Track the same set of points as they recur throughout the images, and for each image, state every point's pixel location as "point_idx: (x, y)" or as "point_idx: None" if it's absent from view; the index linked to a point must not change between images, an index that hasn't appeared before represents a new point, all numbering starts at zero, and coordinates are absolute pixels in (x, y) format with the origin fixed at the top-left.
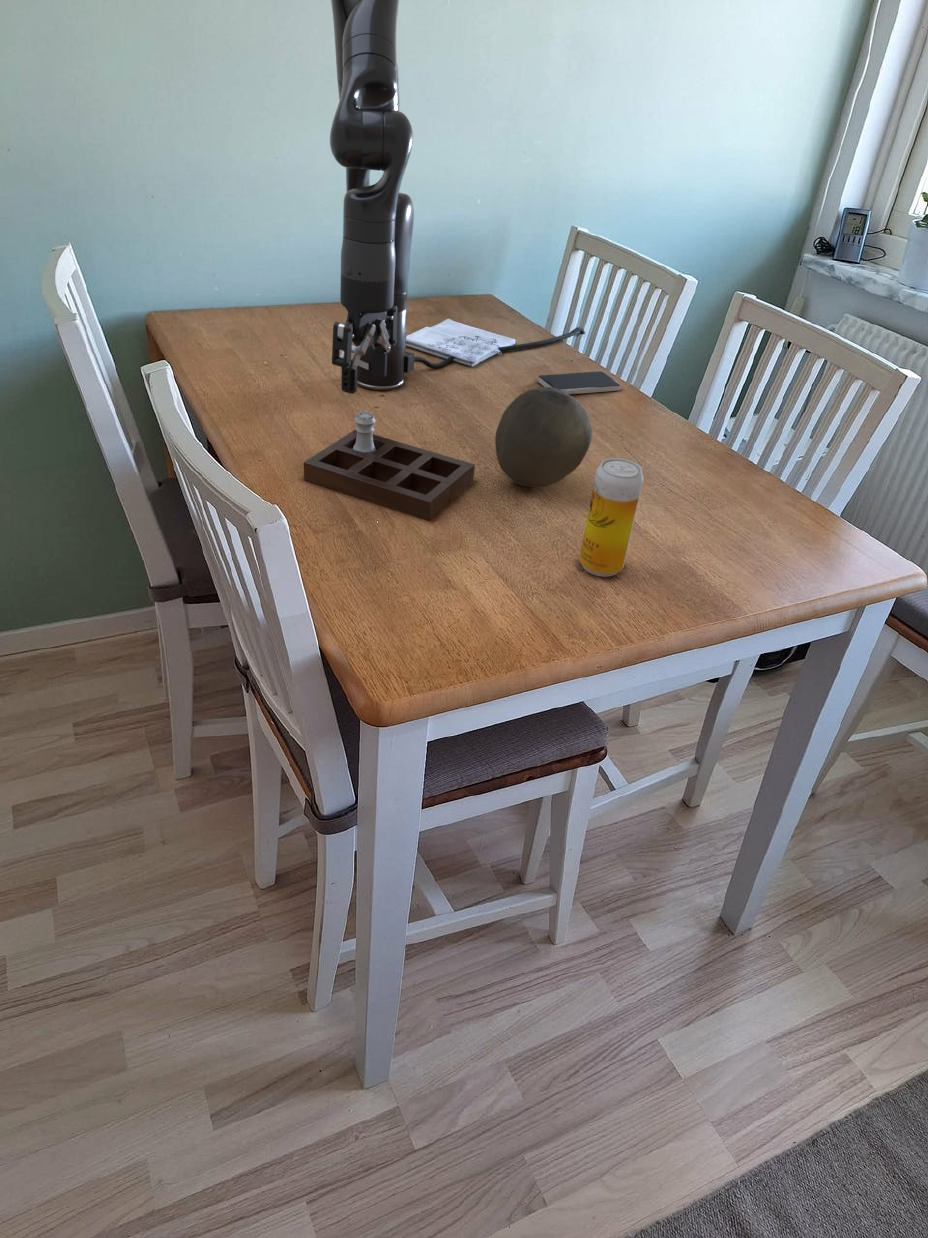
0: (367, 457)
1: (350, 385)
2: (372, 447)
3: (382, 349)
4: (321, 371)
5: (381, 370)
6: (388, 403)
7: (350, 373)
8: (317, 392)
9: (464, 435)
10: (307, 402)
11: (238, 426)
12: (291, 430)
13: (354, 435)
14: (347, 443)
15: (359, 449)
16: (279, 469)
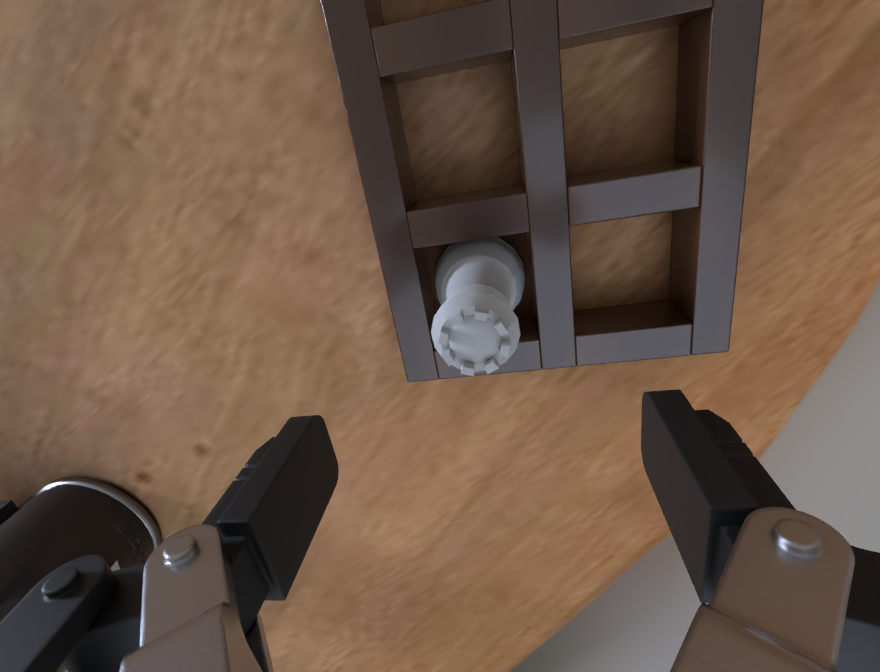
0: (558, 221)
1: (722, 433)
2: (474, 263)
3: (235, 572)
4: None
5: (309, 452)
6: (157, 444)
7: (776, 500)
8: None
9: (81, 161)
10: (324, 562)
11: (538, 587)
12: (468, 509)
13: None
14: None
15: (511, 289)
16: None
